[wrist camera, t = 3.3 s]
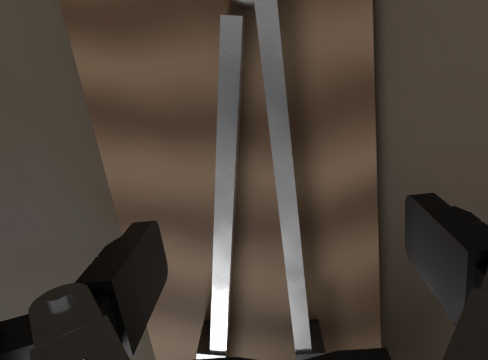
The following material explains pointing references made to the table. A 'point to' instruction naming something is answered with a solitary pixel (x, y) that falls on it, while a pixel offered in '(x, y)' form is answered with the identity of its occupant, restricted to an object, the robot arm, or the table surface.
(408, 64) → the table surface
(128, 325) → the robot arm
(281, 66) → the arm
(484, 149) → the table surface
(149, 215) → the board
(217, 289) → the arm
